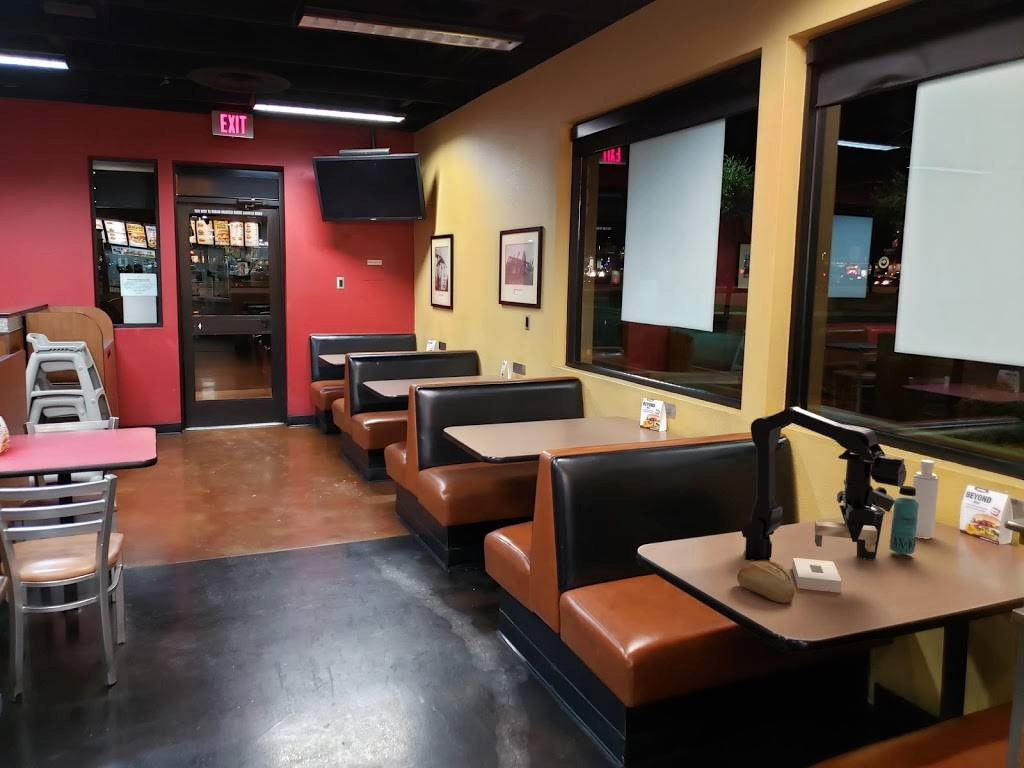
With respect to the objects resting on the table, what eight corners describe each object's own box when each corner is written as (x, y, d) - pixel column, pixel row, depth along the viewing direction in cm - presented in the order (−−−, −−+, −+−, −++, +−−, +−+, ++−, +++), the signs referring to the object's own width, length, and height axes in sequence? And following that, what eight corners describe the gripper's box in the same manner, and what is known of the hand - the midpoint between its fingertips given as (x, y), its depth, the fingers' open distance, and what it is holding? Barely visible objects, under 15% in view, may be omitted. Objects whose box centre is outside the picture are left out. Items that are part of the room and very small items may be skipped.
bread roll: (750, 580, 195) (752, 550, 194) (804, 599, 183) (806, 568, 182) (727, 588, 189) (729, 558, 188) (781, 609, 177) (783, 576, 176)
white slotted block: (798, 588, 190) (798, 576, 189) (792, 568, 203) (793, 557, 203) (841, 592, 187) (841, 581, 187) (832, 572, 201) (833, 561, 200)
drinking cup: (879, 553, 216) (885, 485, 213) (883, 562, 209) (888, 492, 206) (850, 550, 218) (855, 482, 216) (852, 559, 211) (858, 489, 208)
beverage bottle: (883, 551, 218) (889, 483, 215) (906, 551, 218) (911, 483, 216) (897, 559, 211) (903, 489, 209) (919, 559, 212) (926, 489, 209)
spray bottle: (922, 540, 228) (929, 459, 225) (903, 533, 234) (910, 454, 231) (938, 538, 231) (945, 457, 227) (919, 531, 237) (926, 452, 234)
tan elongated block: (815, 546, 192) (817, 525, 192) (813, 541, 196) (815, 520, 195) (875, 552, 189) (877, 531, 188) (872, 547, 193) (874, 526, 192)
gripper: (902, 491, 179) (896, 555, 181) (885, 472, 197) (880, 530, 199) (851, 487, 181) (846, 549, 183) (839, 469, 199) (834, 526, 201)
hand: (853, 538), depth 192 cm, fingers closed on tan elongated block, 4 cm apart
